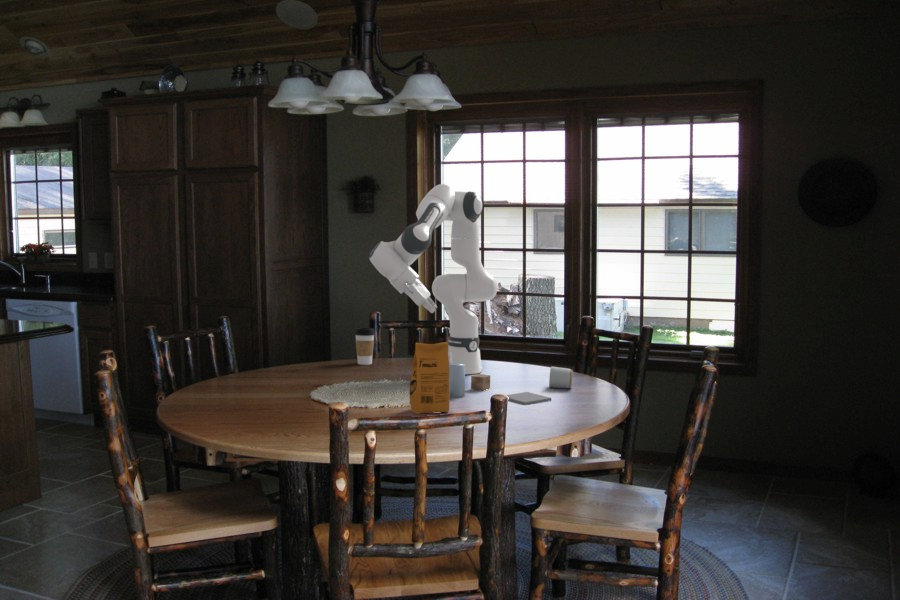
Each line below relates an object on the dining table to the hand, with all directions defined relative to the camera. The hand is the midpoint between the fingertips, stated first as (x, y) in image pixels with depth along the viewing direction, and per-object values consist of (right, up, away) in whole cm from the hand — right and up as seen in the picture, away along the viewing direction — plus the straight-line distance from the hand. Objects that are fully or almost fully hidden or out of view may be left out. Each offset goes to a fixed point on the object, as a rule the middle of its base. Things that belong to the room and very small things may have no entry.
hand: (434, 310), depth 290 cm
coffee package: (-1, -32, -21) cm, 38 cm away
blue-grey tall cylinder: (+7, -29, +2) cm, 30 cm away
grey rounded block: (+45, -28, +19) cm, 57 cm away
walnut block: (+16, -29, +13) cm, 35 cm away
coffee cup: (-30, -23, +63) cm, 74 cm away
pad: (+31, -30, -3) cm, 43 cm away
